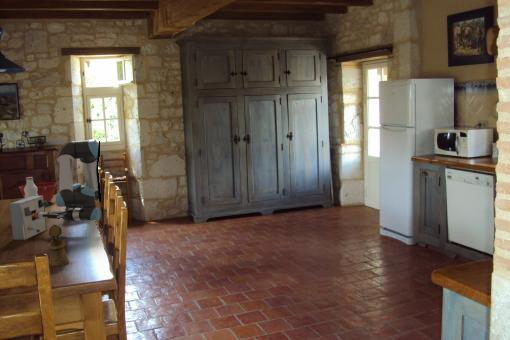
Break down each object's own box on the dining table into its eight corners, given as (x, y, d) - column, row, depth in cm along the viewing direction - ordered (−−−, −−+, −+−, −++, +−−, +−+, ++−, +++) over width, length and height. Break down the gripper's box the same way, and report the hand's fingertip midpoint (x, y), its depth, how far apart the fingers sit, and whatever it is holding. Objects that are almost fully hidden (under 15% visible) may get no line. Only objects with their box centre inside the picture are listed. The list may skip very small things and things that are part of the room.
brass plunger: (23, 219, 324) (23, 212, 323) (28, 218, 328) (27, 211, 328) (36, 219, 322) (35, 212, 322) (40, 218, 327) (40, 210, 326)
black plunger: (37, 207, 331) (36, 201, 330) (40, 206, 334) (39, 200, 334) (45, 207, 330) (44, 201, 329) (48, 205, 333) (47, 200, 333)
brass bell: (67, 257, 273) (63, 223, 270) (69, 264, 260) (65, 228, 258) (48, 260, 269) (45, 225, 267) (50, 267, 257) (46, 231, 254)
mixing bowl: (27, 201, 446) (25, 183, 444) (62, 199, 449) (60, 181, 447) (16, 208, 418) (13, 189, 416) (53, 205, 421) (51, 186, 419)
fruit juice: (38, 216, 382) (34, 177, 378) (25, 217, 380) (20, 178, 377) (41, 213, 391) (37, 176, 387) (28, 214, 390) (24, 177, 386)
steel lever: (27, 229, 317) (28, 226, 316) (29, 228, 319) (29, 225, 318) (38, 233, 316) (39, 230, 316) (40, 232, 318) (40, 229, 318)
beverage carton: (68, 247, 294) (67, 235, 293) (66, 256, 275) (65, 244, 274) (53, 248, 291) (52, 237, 290) (50, 258, 273) (49, 246, 272)
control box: (13, 239, 316) (8, 203, 313) (35, 229, 339) (31, 195, 336) (28, 239, 314) (24, 203, 311) (49, 229, 338) (45, 195, 335)
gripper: (70, 223, 315) (33, 223, 318) (80, 218, 327) (45, 218, 331) (69, 210, 314) (32, 211, 317) (79, 206, 326) (44, 206, 330)
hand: (39, 215), depth 324 cm, fingers closed
